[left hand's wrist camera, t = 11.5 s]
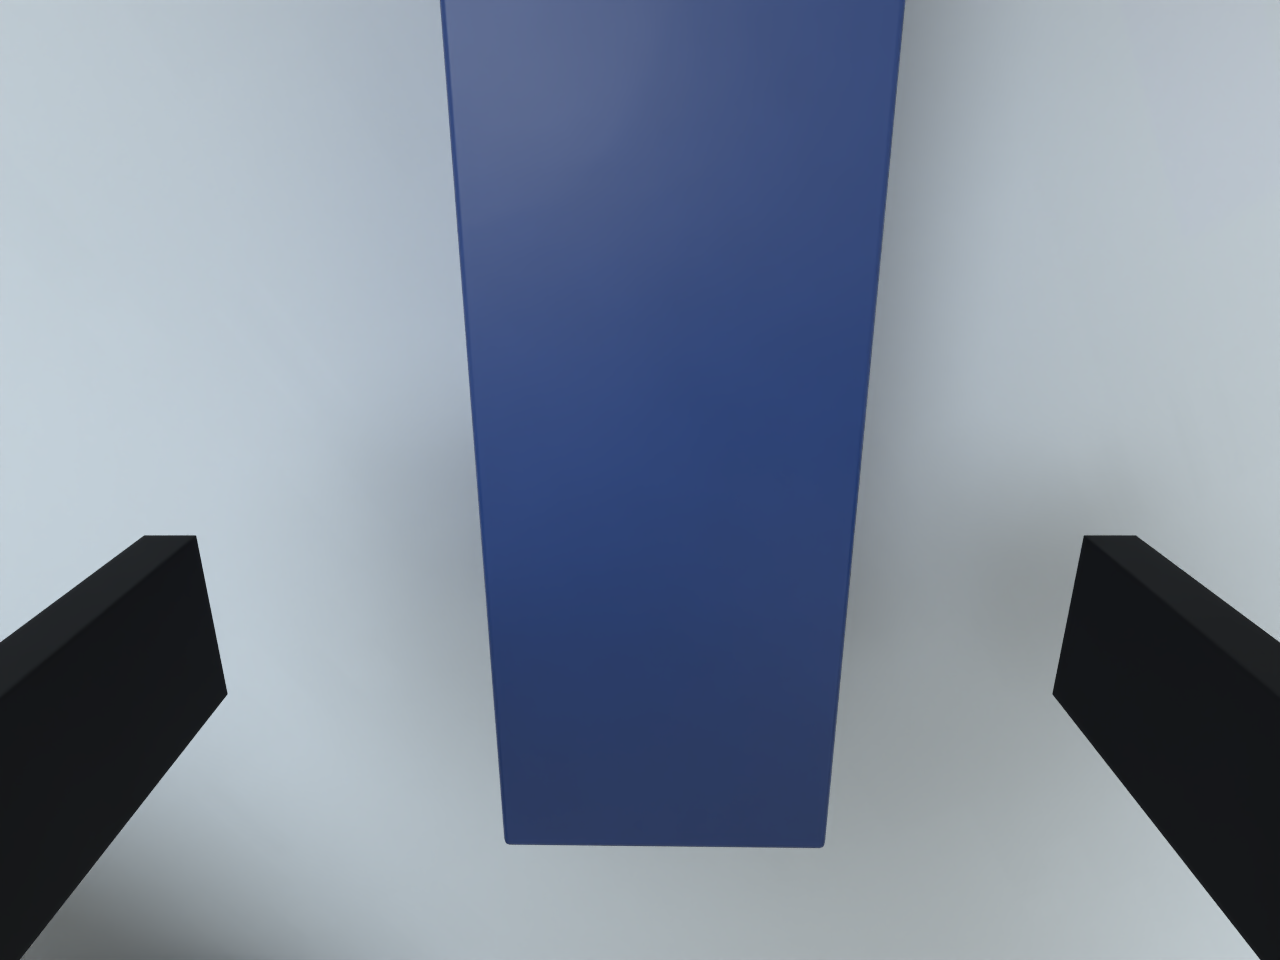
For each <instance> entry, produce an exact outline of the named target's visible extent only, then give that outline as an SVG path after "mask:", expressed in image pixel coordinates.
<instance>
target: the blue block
mask: <svg viewBox="0 0 1280 960" xmlns="http://www.w3.org/2000/svg"><path fill="white" fill-rule="evenodd" d="M440 7H441V20H442V33H443V46H444V59H445V72H446V85H447V98H448V111H449V124H450V137H451V150H452V163H453V176H454V189H455V202H456V215H457V228H458V241H459V254H460V267H461V280H462V293H463V306H464V319H465V332H466V345H467V358H468V371H469V384H470V397H471V410H472V423H473V436H474V449H475V462H476V475H477V488H478V501H479V514H480V527H481V540H482V553H483V566H484V579H485V592H486V605H487V618H488V631H489V645H490V658H491V671H492V684H493V697H494V710H495V723H496V736H497V749H498V762H499V775H500V788H501V801H502V814H503V827H504V839H505V842H506V843H507V844H511V845H599V846H688V847H776V848H821V847H823V846H824V843H825V835H826V825H827V814H828V804H829V793H830V783H831V773H832V762H833V752H834V741H835V731H836V720H837V710H838V699H839V689H840V678H841V668H842V657H843V647H844V636H845V626H846V616H847V605H848V595H849V584H850V574H851V563H852V553H853V542H854V532H855V521H856V511H857V500H858V490H859V479H860V469H861V459H862V448H863V438H864V427H865V417H866V406H867V396H868V385H869V375H870V364H871V354H872V343H873V333H874V323H875V312H876V302H877V291H878V281H879V270H880V260H881V249H882V239H883V228H884V218H885V207H886V197H887V186H888V176H889V166H890V155H891V145H892V134H893V124H894V113H895V103H896V92H897V82H898V71H899V61H900V50H901V40H902V30H903V19H904V9H905V0H440Z"/></svg>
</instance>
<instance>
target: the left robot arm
mask: <svg viewBox="0 0 1280 960" xmlns="http://www.w3.org/2000/svg"><path fill="white" fill-rule="evenodd" d="M226 695H227V689H226V684H225V679H224V674H223V669H222V664H221V659H220V654H219V649H218V644H217V639H216V633H215V628H214V623H213V618H212V613H211V608H210V603H209V598H208V593H207V588H206V583H205V578H204V573H203V568H202V563H201V558H200V553H199V548H198V543H197V538H196V536H143V537H142V538H140V539H139V540H138V541H136V542H135V543H133V544H132V545H131V546H129V547H128V548H127V549H125V550H124V551H123V552H121V553H120V554H119V555H117V556H116V557H115V558H113V559H112V560H111V561H109V562H108V563H107V564H105V565H104V566H103V567H101V568H100V569H98V570H97V571H96V572H94V573H93V574H92V575H90V576H89V577H88V578H86V579H85V580H84V581H82V582H81V583H80V584H78V585H77V586H76V587H74V588H73V589H72V590H70V591H69V592H68V593H66V594H65V595H63V596H62V597H61V598H59V599H58V600H57V601H55V602H54V603H53V604H51V605H50V606H49V607H47V608H46V609H45V610H43V611H42V612H41V613H39V614H38V615H37V616H35V617H34V618H33V619H31V620H30V621H28V622H27V623H26V624H24V625H23V626H22V627H20V628H19V629H18V630H16V631H15V632H14V633H12V634H11V635H10V636H8V637H7V638H6V639H4V640H3V641H2V642H0V960H20V959H21V957H22V956H23V955H24V953H25V952H26V951H27V950H28V948H29V947H30V946H31V945H32V943H33V942H34V941H35V939H36V938H37V937H38V936H39V934H40V933H41V932H42V930H43V929H44V928H45V927H46V925H47V924H48V923H49V922H50V920H51V919H52V918H53V916H54V915H55V914H56V913H57V911H58V910H59V909H60V907H61V906H62V905H63V904H64V902H65V901H66V900H67V899H68V897H69V896H70V895H71V893H72V892H73V891H74V890H75V888H76V887H77V886H78V884H79V883H80V882H81V881H82V879H83V878H84V877H85V876H86V874H87V873H88V872H89V870H90V869H91V868H92V867H93V865H94V864H95V863H96V862H97V860H98V859H99V858H100V856H101V855H102V854H103V853H104V851H105V850H106V849H107V847H108V846H109V845H110V844H111V842H112V841H113V840H114V839H115V837H116V836H117V835H118V833H119V832H120V831H121V830H122V828H123V827H124V826H125V824H126V823H127V822H128V821H129V819H130V818H131V817H132V816H133V814H134V813H135V812H136V810H137V809H138V808H139V807H140V805H141V804H142V803H143V801H144V800H145V799H146V798H147V796H148V795H149V794H150V793H151V791H152V790H153V789H154V787H155V786H156V785H157V784H158V782H159V781H160V780H161V778H162V777H163V776H164V775H165V773H166V772H167V771H168V770H169V768H170V767H171V766H172V764H173V763H174V762H175V761H176V759H177V758H178V757H179V755H180V754H181V753H182V752H183V750H184V749H185V748H186V747H187V745H188V744H189V743H190V741H191V740H192V739H193V738H194V736H195V735H196V734H197V732H198V731H199V730H200V729H201V727H202V726H203V725H204V724H205V722H206V721H207V720H208V718H209V717H210V716H211V715H212V713H213V712H214V711H215V710H216V708H217V707H218V706H219V704H220V703H221V702H222V701H223V699H224V698H225V697H226ZM1053 695H1054V697H1055V698H1056V699H1057V701H1058V702H1059V703H1060V704H1061V706H1062V707H1063V708H1064V710H1065V711H1066V712H1067V713H1068V715H1069V716H1070V717H1071V718H1072V720H1073V721H1074V722H1075V724H1076V725H1077V726H1078V727H1079V729H1080V730H1081V731H1082V733H1083V734H1084V735H1085V736H1086V738H1087V739H1088V740H1089V741H1090V743H1091V744H1092V745H1093V747H1094V748H1095V749H1096V750H1097V752H1098V753H1099V754H1100V755H1101V757H1102V758H1103V759H1104V761H1105V762H1106V763H1107V764H1108V766H1109V767H1110V768H1111V770H1112V771H1113V772H1114V773H1115V775H1116V776H1117V777H1118V778H1119V780H1120V781H1121V782H1122V784H1123V785H1124V786H1125V787H1126V789H1127V790H1128V791H1129V793H1130V794H1131V795H1132V796H1133V798H1134V799H1135V800H1136V801H1137V803H1138V804H1139V805H1140V807H1141V808H1142V809H1143V810H1144V812H1145V813H1146V814H1147V816H1148V817H1149V818H1150V819H1151V821H1152V822H1153V823H1154V824H1155V826H1156V827H1157V828H1158V830H1159V831H1160V832H1161V833H1162V835H1163V836H1164V837H1165V839H1166V840H1167V841H1168V842H1169V844H1170V845H1171V846H1172V847H1173V849H1174V850H1175V851H1176V853H1177V854H1178V855H1179V856H1180V858H1181V859H1182V860H1183V862H1184V863H1185V864H1186V865H1187V867H1188V868H1189V869H1190V870H1191V872H1192V873H1193V874H1194V876H1195V877H1196V878H1197V879H1198V881H1199V882H1200V883H1201V885H1202V886H1203V887H1204V888H1205V890H1206V891H1207V892H1208V893H1209V895H1210V896H1211V897H1212V899H1213V900H1214V901H1215V902H1216V904H1217V905H1218V906H1219V907H1220V909H1221V910H1222V911H1223V913H1224V914H1225V915H1226V916H1227V918H1228V919H1229V920H1230V922H1231V923H1232V924H1233V925H1234V927H1235V928H1236V929H1237V930H1238V932H1239V933H1240V934H1241V936H1242V937H1243V938H1244V939H1245V941H1246V942H1247V943H1248V945H1249V946H1250V947H1251V948H1252V950H1253V951H1254V952H1255V953H1256V955H1257V956H1258V957H1259V959H1260V960H1280V642H1278V641H1277V640H1276V639H1274V638H1273V637H1272V636H1270V635H1269V634H1268V633H1266V632H1265V631H1264V630H1262V629H1261V628H1260V627H1258V626H1257V625H1256V624H1254V623H1253V622H1252V621H1250V620H1249V619H1247V618H1246V617H1245V616H1243V615H1242V614H1241V613H1239V612H1238V611H1237V610H1235V609H1234V608H1233V607H1231V606H1230V605H1229V604H1227V603H1226V602H1225V601H1223V600H1222V599H1221V598H1219V597H1218V596H1217V595H1215V594H1214V593H1212V592H1211V591H1210V590H1208V589H1207V588H1206V587H1204V586H1203V585H1202V584H1200V583H1199V582H1198V581H1196V580H1195V579H1194V578H1192V577H1191V576H1190V575H1188V574H1187V573H1186V572H1184V571H1183V570H1182V569H1180V568H1179V567H1177V566H1176V565H1175V564H1173V563H1172V562H1171V561H1169V560H1168V559H1167V558H1165V557H1164V556H1163V555H1161V554H1160V553H1159V552H1157V551H1156V550H1155V549H1153V548H1152V547H1151V546H1149V545H1148V544H1147V543H1145V542H1144V541H1142V540H1141V539H1140V538H1138V537H1137V536H1084V538H1083V543H1082V548H1081V553H1080V558H1079V563H1078V568H1077V573H1076V578H1075V583H1074V588H1073V593H1072V598H1071V603H1070V608H1069V613H1068V618H1067V623H1066V628H1065V633H1064V638H1063V644H1062V649H1061V654H1060V659H1059V664H1058V669H1057V674H1056V679H1055V684H1054V689H1053Z"/></svg>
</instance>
